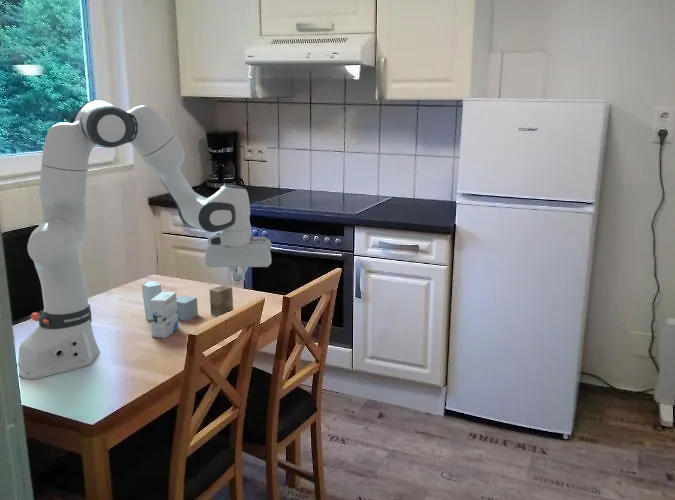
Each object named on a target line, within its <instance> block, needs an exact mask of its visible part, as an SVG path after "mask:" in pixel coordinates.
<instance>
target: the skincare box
mask: <svg viewBox="0 0 675 500" xmlns="http://www.w3.org/2000/svg"><path fill="white" fill-rule="evenodd" d="M141 289H142V290H141V291H142V299H143V307H144V314H145V315H144V316H145V319H146V320H148V321H149V322H151V312H150V300H151V299H152V298H154V297H155V296H157V295H158V294H160V293H161V292H163V290H162V285H161V284H160V283H158V282H156V281H155V280H151V281H146V282H142V283H141Z"/></svg>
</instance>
